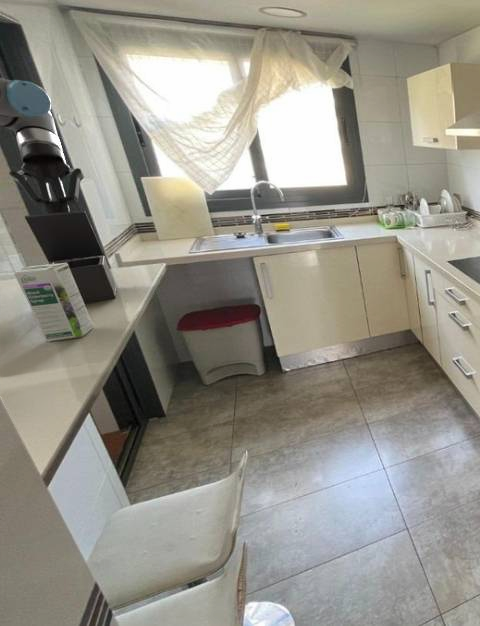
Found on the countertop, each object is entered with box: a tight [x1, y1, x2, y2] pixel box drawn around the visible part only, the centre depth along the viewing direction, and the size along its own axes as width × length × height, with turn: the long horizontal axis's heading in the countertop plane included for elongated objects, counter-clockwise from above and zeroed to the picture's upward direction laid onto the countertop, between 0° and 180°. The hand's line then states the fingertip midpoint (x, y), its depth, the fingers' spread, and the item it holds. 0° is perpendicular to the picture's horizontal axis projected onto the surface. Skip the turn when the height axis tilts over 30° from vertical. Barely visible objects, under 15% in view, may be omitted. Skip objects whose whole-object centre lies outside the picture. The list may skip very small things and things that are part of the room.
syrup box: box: [14, 263, 94, 343], centre depth 91 cm, size 6×6×14 cm
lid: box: [24, 210, 105, 263], centre depth 112 cm, size 12×10×1 cm
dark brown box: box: [48, 255, 117, 304], centre depth 114 cm, size 12×10×9 cm
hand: (62, 225), depth 112 cm, fingers closed
